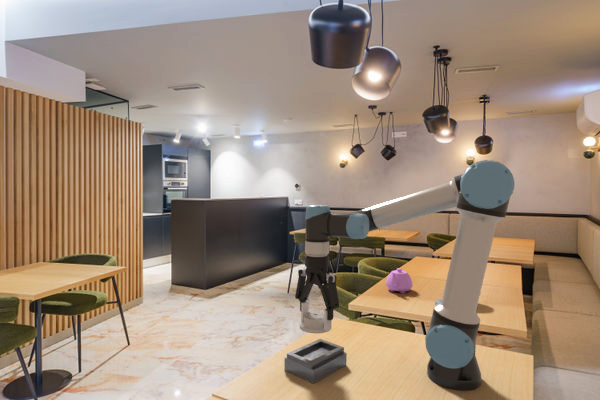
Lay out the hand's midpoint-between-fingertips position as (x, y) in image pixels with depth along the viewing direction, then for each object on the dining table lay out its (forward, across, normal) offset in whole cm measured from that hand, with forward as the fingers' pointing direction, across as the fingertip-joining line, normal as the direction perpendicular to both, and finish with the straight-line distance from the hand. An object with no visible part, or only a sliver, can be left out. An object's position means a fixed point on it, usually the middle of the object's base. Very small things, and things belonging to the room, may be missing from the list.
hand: (316, 325), depth 121 cm
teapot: (+14, +25, -99) cm, 103 cm away
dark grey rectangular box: (+13, 0, -1) cm, 13 cm away
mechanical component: (+1, 0, 0) cm, 1 cm away
